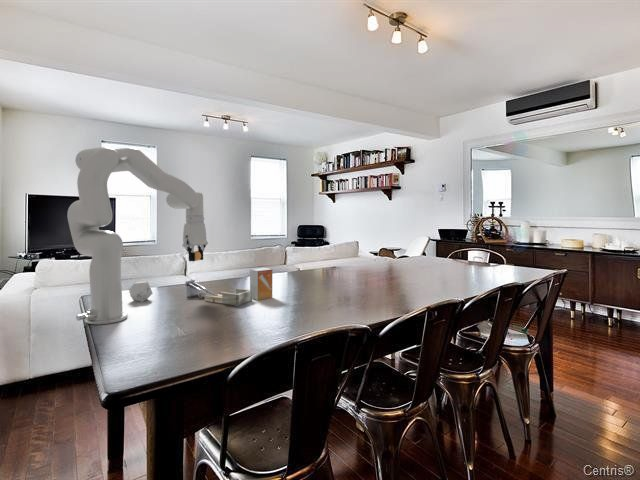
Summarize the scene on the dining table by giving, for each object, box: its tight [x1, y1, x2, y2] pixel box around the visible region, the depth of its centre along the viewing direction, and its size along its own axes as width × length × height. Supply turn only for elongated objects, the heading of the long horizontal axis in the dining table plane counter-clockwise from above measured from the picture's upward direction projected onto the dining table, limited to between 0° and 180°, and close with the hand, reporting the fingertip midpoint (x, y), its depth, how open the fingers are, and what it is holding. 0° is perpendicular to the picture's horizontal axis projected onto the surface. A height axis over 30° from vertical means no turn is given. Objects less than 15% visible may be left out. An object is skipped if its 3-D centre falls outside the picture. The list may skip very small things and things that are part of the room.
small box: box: [249, 267, 273, 301], centre depth 160 cm, size 8×6×13 cm
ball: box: [194, 250, 201, 262], centre depth 162 cm, size 4×4×4 cm
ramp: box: [184, 279, 217, 299], centre depth 161 cm, size 5×15×7 cm, turn 64°
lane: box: [204, 288, 253, 307], centre depth 155 cm, size 10×18×4 cm, turn 64°
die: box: [128, 281, 153, 303], centre depth 154 cm, size 8×9×10 cm
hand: (196, 259), depth 162 cm, fingers closed on ball, 4 cm apart
